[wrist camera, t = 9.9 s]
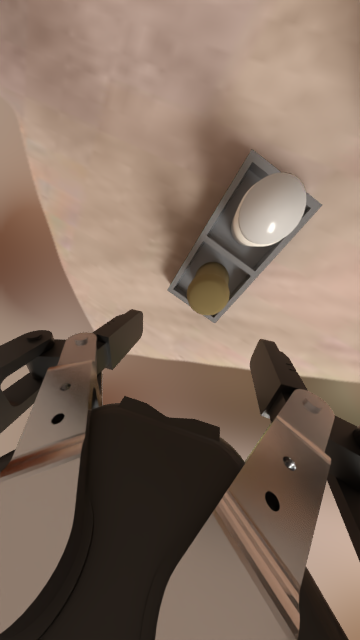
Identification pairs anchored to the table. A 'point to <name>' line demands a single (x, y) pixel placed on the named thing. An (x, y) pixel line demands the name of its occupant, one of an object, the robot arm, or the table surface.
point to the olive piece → (209, 289)
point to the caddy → (222, 246)
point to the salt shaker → (269, 210)
